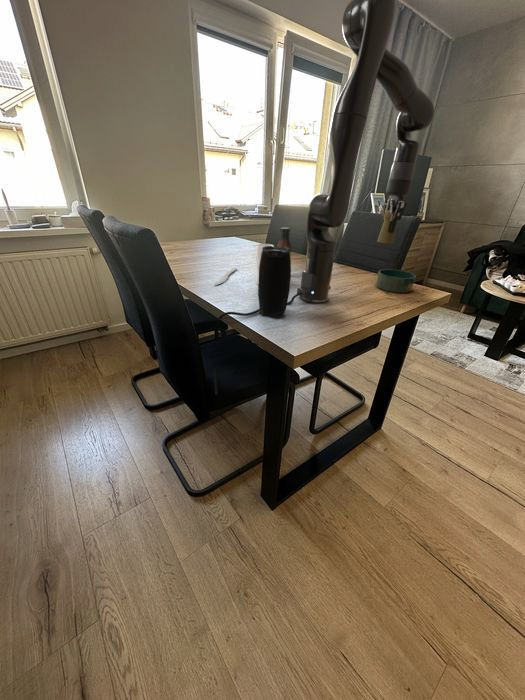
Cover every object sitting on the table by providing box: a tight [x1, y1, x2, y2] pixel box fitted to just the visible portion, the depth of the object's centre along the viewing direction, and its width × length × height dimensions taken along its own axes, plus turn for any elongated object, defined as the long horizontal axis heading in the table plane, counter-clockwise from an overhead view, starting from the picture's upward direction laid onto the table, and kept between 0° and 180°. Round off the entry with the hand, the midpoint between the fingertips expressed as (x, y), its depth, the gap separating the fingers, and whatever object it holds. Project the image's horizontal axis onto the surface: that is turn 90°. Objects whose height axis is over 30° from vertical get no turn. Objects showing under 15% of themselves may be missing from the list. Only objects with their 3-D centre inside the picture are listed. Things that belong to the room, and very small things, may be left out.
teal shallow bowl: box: [375, 268, 417, 294], centre depth 115 cm, size 14×14×6 cm
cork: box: [376, 210, 400, 244], centre depth 105 cm, size 6×6×11 cm
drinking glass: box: [255, 243, 275, 284], centre depth 111 cm, size 7×7×15 cm
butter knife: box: [214, 267, 237, 286], centre depth 121 cm, size 1×27×3 cm
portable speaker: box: [257, 246, 292, 319], centre depth 83 cm, size 9×9×20 cm
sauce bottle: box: [276, 227, 293, 263], centre depth 121 cm, size 7×6×20 cm
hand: (387, 231), depth 106 cm, fingers closed on cork, 4 cm apart
